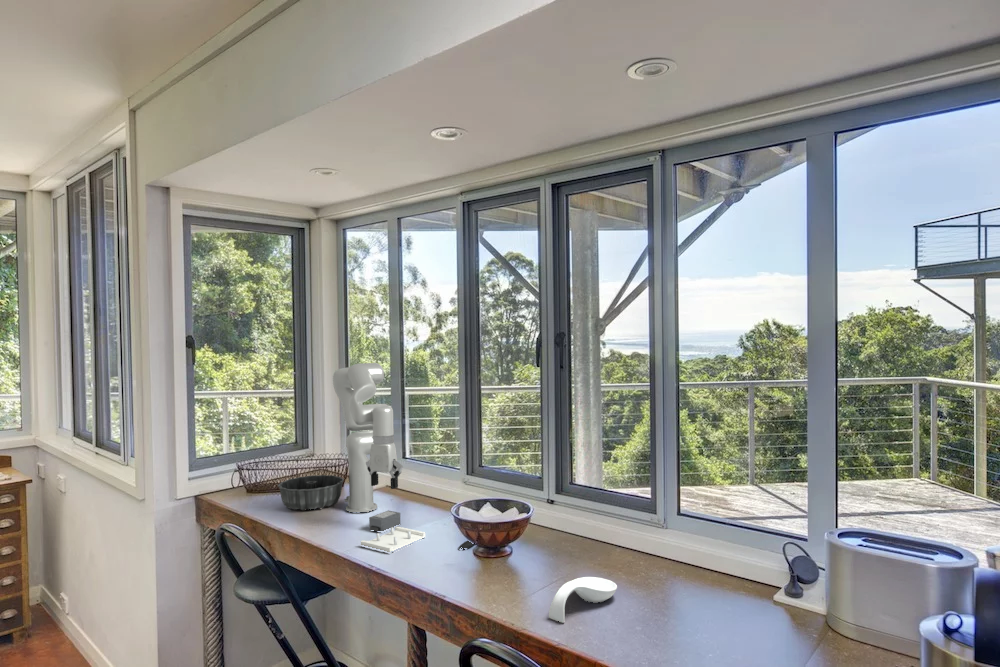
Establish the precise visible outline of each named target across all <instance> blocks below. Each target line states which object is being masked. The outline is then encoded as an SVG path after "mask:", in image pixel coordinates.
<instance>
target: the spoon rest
mask: <svg viewBox="0 0 1000 667" xmlns="http://www.w3.org/2000/svg"><path fill="white" fill-rule="evenodd" d="M617 589H618V585H617V584H616V583H615V582H614V581H612V580H610V579H607V578H603V577H595V576H583V577H578V578H575V579H573V580H569V581H567V582H565V583H563V585H561V586H560V588H559V589H558V590H557V592H556V594H555V595H554V596H553V598H552V601H551V604H550V607H549V611H548V618H549V619H550V620H553V621H556V622H558V621H559V622H558V623H561V624H564V623H565V621H566V618H565V617H566V616H565V609H566V608H565V607H566V602H567V599H568V598H569V596H570V595H571V594H572V593H573V592H575V593H576V594H577V595H578V596H579V597H580V598H581V599H582V600H583V599H584V600H583V601H584V602H587V601H588V602H587V603H590V602H593V603H592V604H598V602H600V603H603V602H604V601H607V600H608V599H610V598H612V596H614V594H615V593H616V591H617Z"/></svg>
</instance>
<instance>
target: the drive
mask: <svg viewBox="0 0 1000 667" xmlns="http://www.w3.org/2000/svg"><path fill="white" fill-rule="evenodd" d="M368 519H369V521H368V523H369V525H368V526H369V529H370V530H374V531H384V530H386V529H389V528H391V527H394V526H396V525H399V524H400V525H401V512H398V511H392V510H389V509H388V510H385V511H383V512H380V513H378V514H376V515H375V514H374V515H371V516H370V517H369V518H368Z"/></svg>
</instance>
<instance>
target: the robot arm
mask: <svg viewBox="0 0 1000 667" xmlns="http://www.w3.org/2000/svg"><path fill="white" fill-rule="evenodd" d="M384 377H385V372H384V369H383V366H382V365H381V364H380V363H377V362H367V363H366V362H365V363H355V364H351V365H350V366H347V367H342V368H338V369H337V370H335V371H334V372H333V375H332V384H333V385H332V386H333V388H334V391H335V394H336V396H337V397H338V399H339V401H340V404H341V409H342V413H343V419H344V421H345V427H346V428H347V430H349V431H350V432H351V433H350V434H348V435H347V437H346V438H345V445H346V451H347V457H348V458H347V459H348V476H349V477H348V483H349V484H348V485H349V486H348V487H349V489H348V493H349V495H347V496H346V498H344V500H343V501H344V502H345V503H347V506H345V511H346V510H347V511H350V512H367V513H370V512H369V511H371V512H373V511H372V510H374V511H376V510H377V509H378V504H377V503H375V502H374V486H377V485H379V473H384V474H388V473H389V475H390V477H391V478H390V490H394V489H397V488H399V477H400V475H401V474H402V470H403V468H404V466H403V465H402V464H401V463H400V462H398V456H397V448H396V444H395V436H394V434H395V433H394V431H395V430H394V410H393V407H392V406H389V405H388V404H387V403H376V404H375V403H374V404H373V403H372V404H363V403H365V402H367V401H369V400H370V399H372V398H374V396H375V394H376V393H377V386H376V385H378V384H381V383H382V382H383V380H384ZM368 455H369V458H368V457H367V456H368ZM376 508H377V509H376ZM375 509H376V510H375ZM347 511H346V512H347ZM350 512H349V513H350Z"/></svg>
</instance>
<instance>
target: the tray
mask: <svg viewBox="0 0 1000 667" xmlns="http://www.w3.org/2000/svg"><path fill="white" fill-rule="evenodd" d="M380 534H381V533H378V532H376V537H375V538H373V539H371V540H370V539H369V540H361V541H360V546H361V545H364V546H368V547H372V548H376V549H380V550H384V551H387V552H391V551H394V550H396V549H398V548H401V547H403V546H405V545H408V544H410V543H412V542H414V541H417V540H419V539H422V538H424V537H425V538H426V532H425V531H421V530H417V529H412V528H406V527H403V526H402V527H401V526H397V527H395V528H394V527H391V530H390V531H389V532H387V533H385V534H382V535H380ZM422 540H423V539H422Z"/></svg>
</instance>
